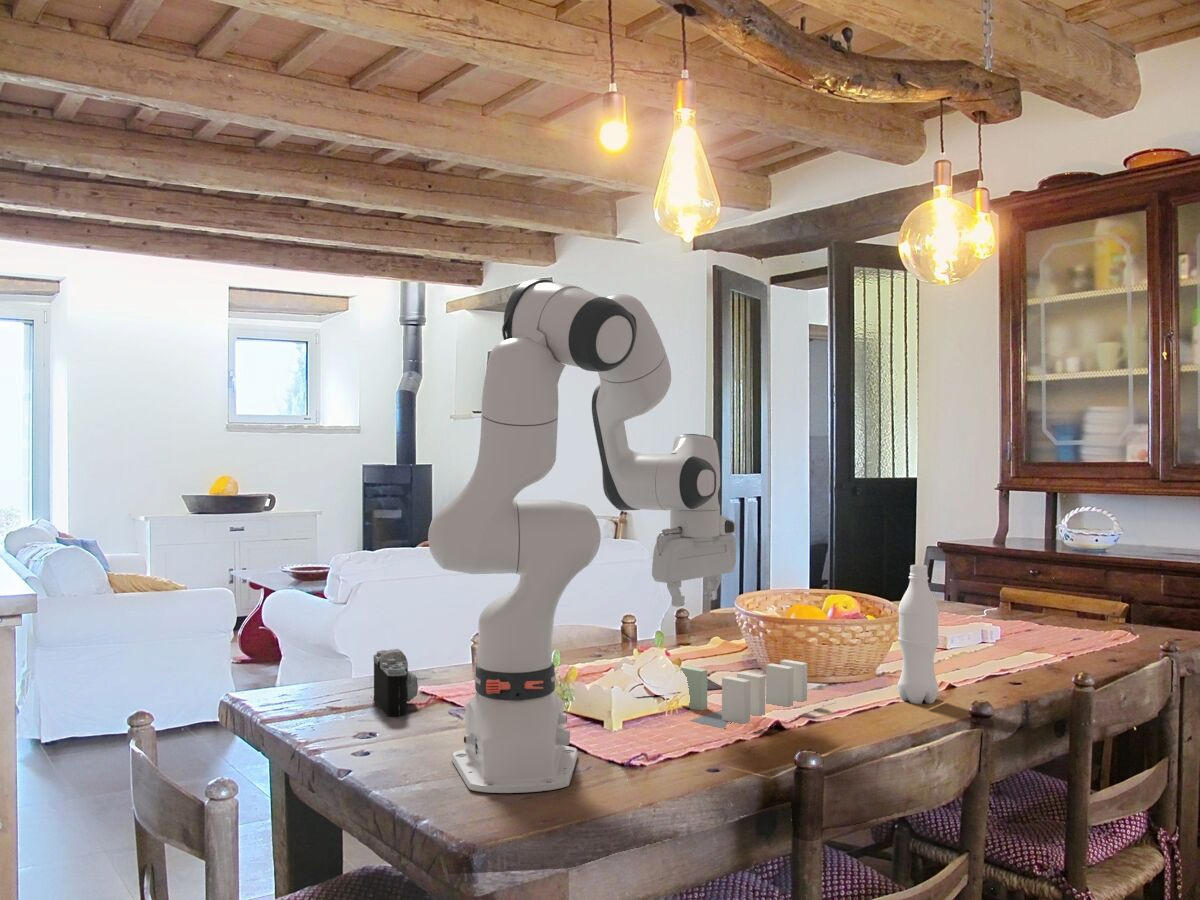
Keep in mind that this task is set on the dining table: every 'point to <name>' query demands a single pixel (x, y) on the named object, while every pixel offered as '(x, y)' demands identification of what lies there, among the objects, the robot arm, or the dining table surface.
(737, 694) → the tile
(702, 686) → the tile
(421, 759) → the dining table surface
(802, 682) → the tile
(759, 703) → the tile
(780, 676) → the tile
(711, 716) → the felt runner
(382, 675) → the camera
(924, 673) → the water bottle
